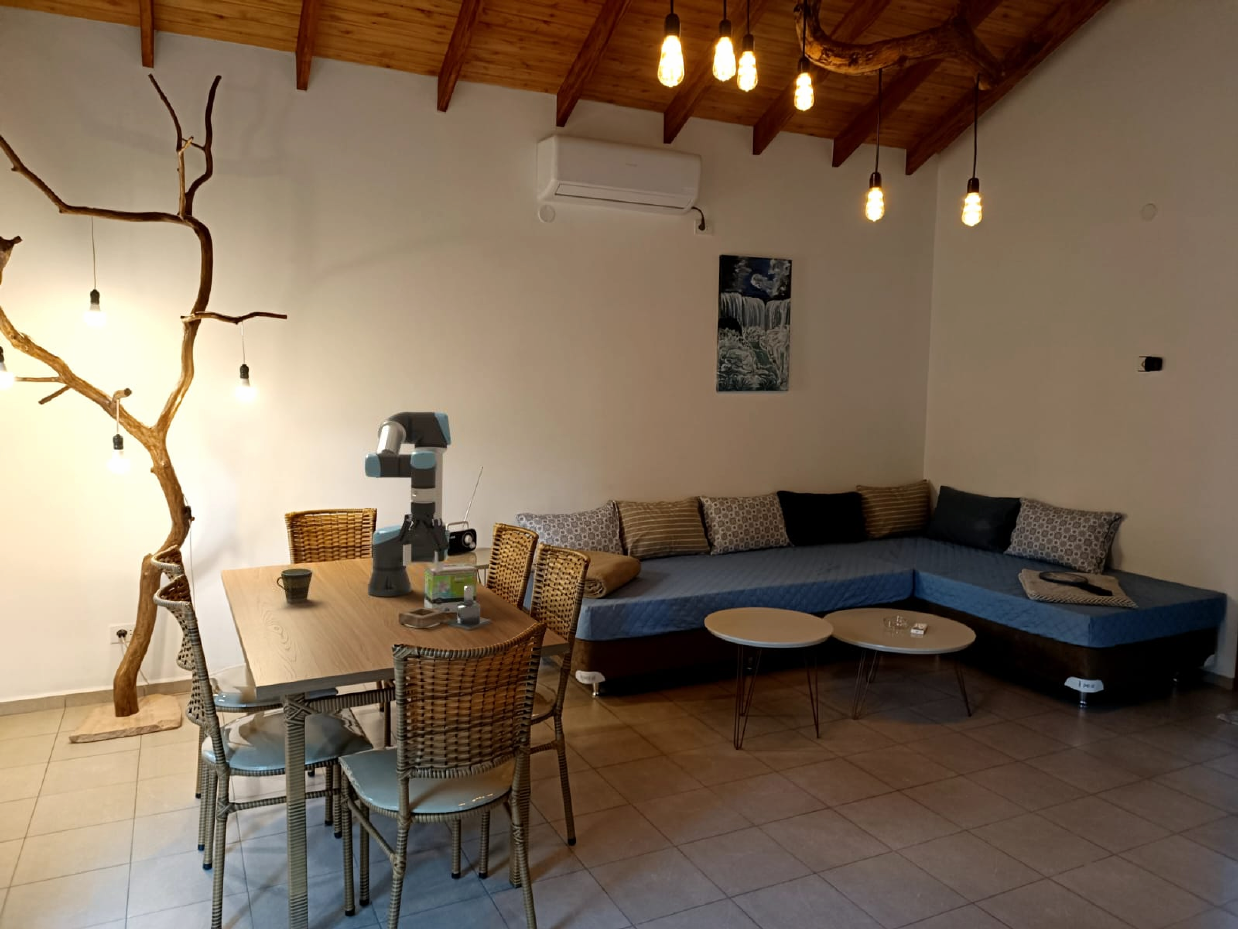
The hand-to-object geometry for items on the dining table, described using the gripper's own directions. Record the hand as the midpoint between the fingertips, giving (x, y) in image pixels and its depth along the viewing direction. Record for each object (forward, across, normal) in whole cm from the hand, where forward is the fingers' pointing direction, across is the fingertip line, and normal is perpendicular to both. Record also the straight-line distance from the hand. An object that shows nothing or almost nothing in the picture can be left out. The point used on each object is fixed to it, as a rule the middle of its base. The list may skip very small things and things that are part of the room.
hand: (422, 568), depth 269 cm
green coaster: (+17, 0, 0) cm, 17 cm away
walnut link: (+17, 0, 0) cm, 17 cm away
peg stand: (+17, +12, +8) cm, 23 cm away
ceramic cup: (+18, -52, -8) cm, 55 cm away
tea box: (+18, -4, +17) cm, 25 cm away
